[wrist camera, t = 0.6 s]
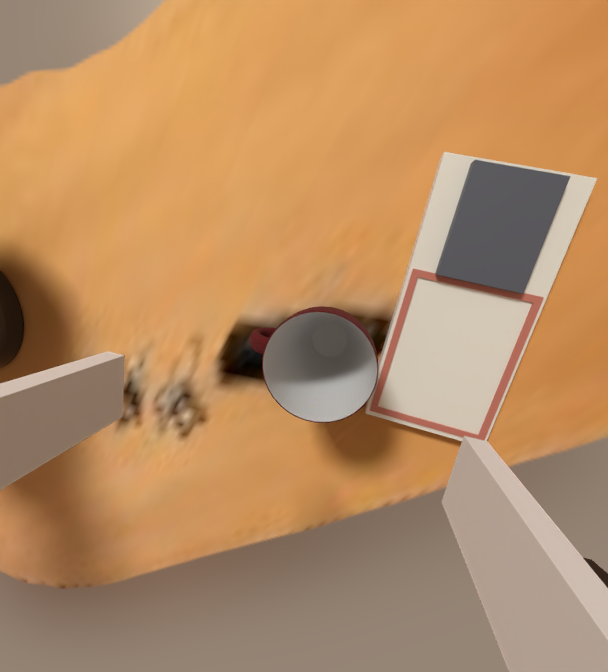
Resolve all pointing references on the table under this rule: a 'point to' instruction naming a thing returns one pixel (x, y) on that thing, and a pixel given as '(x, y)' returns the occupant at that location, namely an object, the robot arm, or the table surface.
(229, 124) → the table surface
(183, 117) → the table surface
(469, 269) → the board
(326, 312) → the mug
